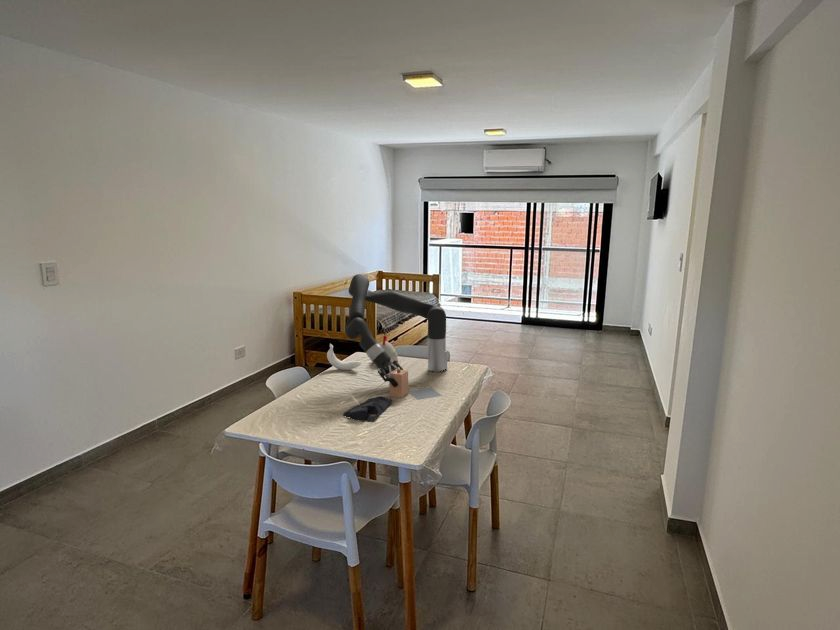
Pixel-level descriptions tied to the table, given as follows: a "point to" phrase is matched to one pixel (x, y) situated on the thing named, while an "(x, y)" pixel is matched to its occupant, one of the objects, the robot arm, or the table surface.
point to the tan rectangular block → (399, 383)
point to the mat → (424, 393)
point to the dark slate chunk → (369, 409)
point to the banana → (341, 364)
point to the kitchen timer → (389, 349)
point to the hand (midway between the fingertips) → (401, 383)
